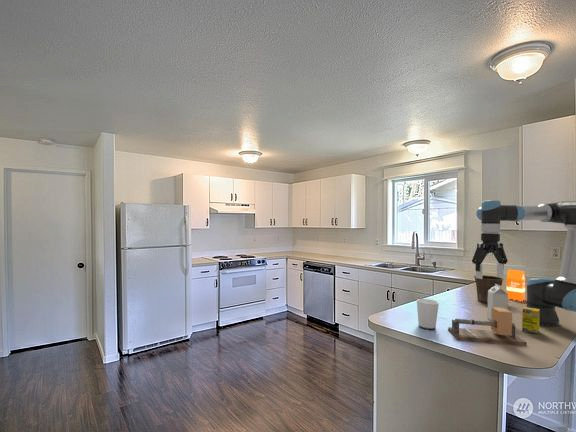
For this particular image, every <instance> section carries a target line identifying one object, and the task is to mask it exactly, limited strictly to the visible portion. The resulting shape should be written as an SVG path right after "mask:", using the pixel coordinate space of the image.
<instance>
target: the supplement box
mask: <svg viewBox="0 0 576 432" xmlns="http://www.w3.org/2000/svg"><path fill="white" fill-rule="evenodd" d="M521 318H522V321H521V325H522V326H521V331H522V332H526V333H528V334H534V335H538V334H539V333H540V325H539V322H540V309H534V308H529V307H526V306H524V307H523V308H522V317H521Z"/></svg>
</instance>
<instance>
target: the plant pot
mask: <svg viewBox="0 0 576 432" xmlns="http://www.w3.org/2000/svg"><path fill="white" fill-rule="evenodd" d="M473 276H474V277H473V278H474V282H475V285H476V297H477V301H478V302H482V303H484V304H488V290H490V289H491V288H492V287H494V286H495V284H497V285H499V286H501V287H502V285H503V281H504V277H503V278H501V277H497V276H494V275H486V274H485V275H484V274H482V279H479V278H476V275H473Z"/></svg>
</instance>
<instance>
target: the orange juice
mask: <svg viewBox="0 0 576 432" xmlns="http://www.w3.org/2000/svg"><path fill="white" fill-rule="evenodd" d="M506 293H507V294H508V300H510V299H513V300H512V301H515V300H519V301H518V302H521V301H522V302H524V301H526V300H525V299H526V276H525V271H523V270H514V269H508V270H507V276H506ZM523 300H524V301H523Z"/></svg>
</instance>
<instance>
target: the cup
mask: <svg viewBox="0 0 576 432" xmlns="http://www.w3.org/2000/svg"><path fill="white" fill-rule="evenodd" d="M439 303H440V302H438V301H437V300H436V299H435V300H434V299H430V298H429V299H428V298H418V299H416V308H417V309H416V310H417V321H418V322H417V323H418V327H419V328H422V329H423V330H427V329H428V330H430V331H433V330H434V329H436V327H437V321H438V320H437V319H438V313H439Z"/></svg>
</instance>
